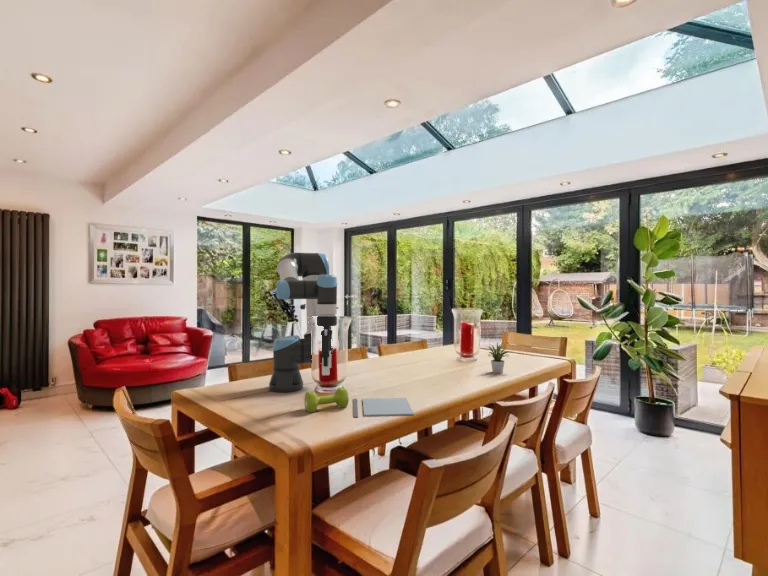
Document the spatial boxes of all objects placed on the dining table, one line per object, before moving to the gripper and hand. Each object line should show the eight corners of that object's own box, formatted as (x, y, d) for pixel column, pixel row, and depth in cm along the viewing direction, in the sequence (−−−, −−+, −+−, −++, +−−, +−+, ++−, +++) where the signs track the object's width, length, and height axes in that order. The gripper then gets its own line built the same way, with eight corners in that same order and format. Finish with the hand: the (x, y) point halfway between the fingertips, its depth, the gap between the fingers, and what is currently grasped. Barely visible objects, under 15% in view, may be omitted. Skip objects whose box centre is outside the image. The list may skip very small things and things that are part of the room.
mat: (364, 416, 142) (364, 414, 142) (362, 400, 162) (362, 398, 162) (413, 415, 144) (413, 413, 144) (405, 399, 163) (405, 397, 163)
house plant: (494, 376, 205) (494, 345, 205) (477, 370, 218) (478, 341, 217) (515, 374, 211) (516, 343, 210) (498, 368, 223) (498, 340, 223)
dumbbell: (308, 415, 144) (308, 395, 144) (302, 408, 151) (302, 390, 151) (350, 409, 151) (350, 390, 151) (343, 403, 158) (343, 385, 158)
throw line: (353, 417, 141) (353, 416, 141) (353, 399, 163) (353, 398, 163) (358, 417, 141) (358, 416, 141) (357, 399, 163) (357, 398, 163)
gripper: (335, 317, 138) (335, 378, 138) (337, 313, 163) (337, 364, 163) (314, 317, 138) (313, 378, 138) (319, 313, 162) (319, 364, 162)
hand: (326, 371), depth 150 cm, fingers open, 13 cm apart
